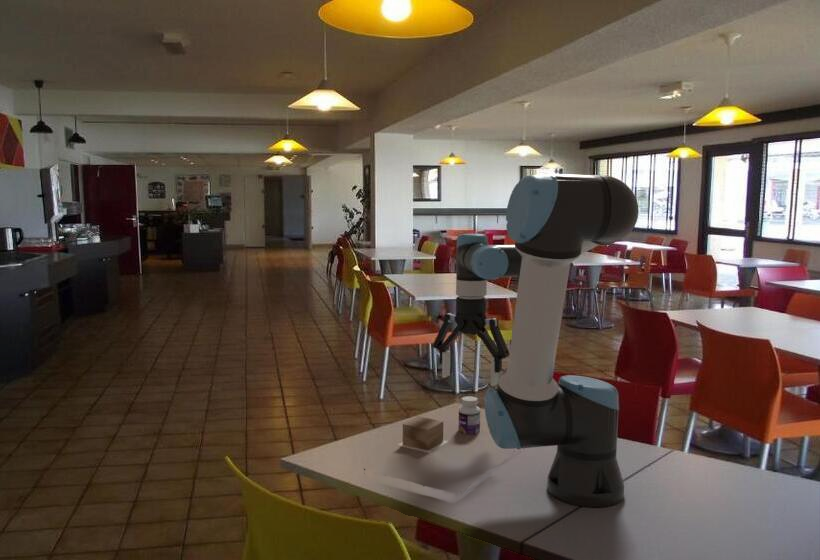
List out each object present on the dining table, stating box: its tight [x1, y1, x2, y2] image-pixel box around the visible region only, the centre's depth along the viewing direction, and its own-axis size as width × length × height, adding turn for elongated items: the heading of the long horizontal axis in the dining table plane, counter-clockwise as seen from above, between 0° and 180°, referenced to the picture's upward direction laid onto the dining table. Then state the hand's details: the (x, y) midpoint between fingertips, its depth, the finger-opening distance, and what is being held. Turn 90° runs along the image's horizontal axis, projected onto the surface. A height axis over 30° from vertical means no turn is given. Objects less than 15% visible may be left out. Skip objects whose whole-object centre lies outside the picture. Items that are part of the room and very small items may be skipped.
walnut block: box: [402, 416, 444, 451], centre depth 159 cm, size 7×7×5 cm
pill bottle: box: [458, 395, 481, 435], centre depth 168 cm, size 5×5×10 cm
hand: (469, 380), depth 167 cm, fingers open, 13 cm apart
